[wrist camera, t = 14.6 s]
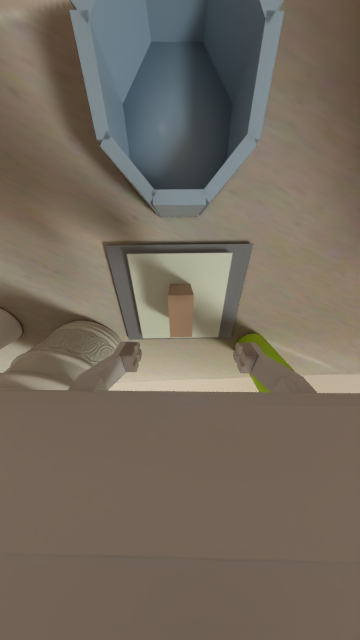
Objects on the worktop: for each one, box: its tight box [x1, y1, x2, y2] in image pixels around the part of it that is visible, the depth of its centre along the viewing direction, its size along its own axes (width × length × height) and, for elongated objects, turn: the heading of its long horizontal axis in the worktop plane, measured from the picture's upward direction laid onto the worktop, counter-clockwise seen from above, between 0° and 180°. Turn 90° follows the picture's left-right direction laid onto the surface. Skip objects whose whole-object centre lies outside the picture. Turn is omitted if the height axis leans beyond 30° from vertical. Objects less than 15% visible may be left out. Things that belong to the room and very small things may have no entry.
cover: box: [127, 253, 233, 338], centre depth 19 cm, size 14×14×6 cm
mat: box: [105, 244, 253, 339], centre depth 22 cm, size 20×16×1 cm
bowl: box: [69, 0, 285, 217], centre depth 11 cm, size 12×12×6 cm
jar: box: [0, 321, 121, 391], centre depth 19 cm, size 13×13×18 cm
